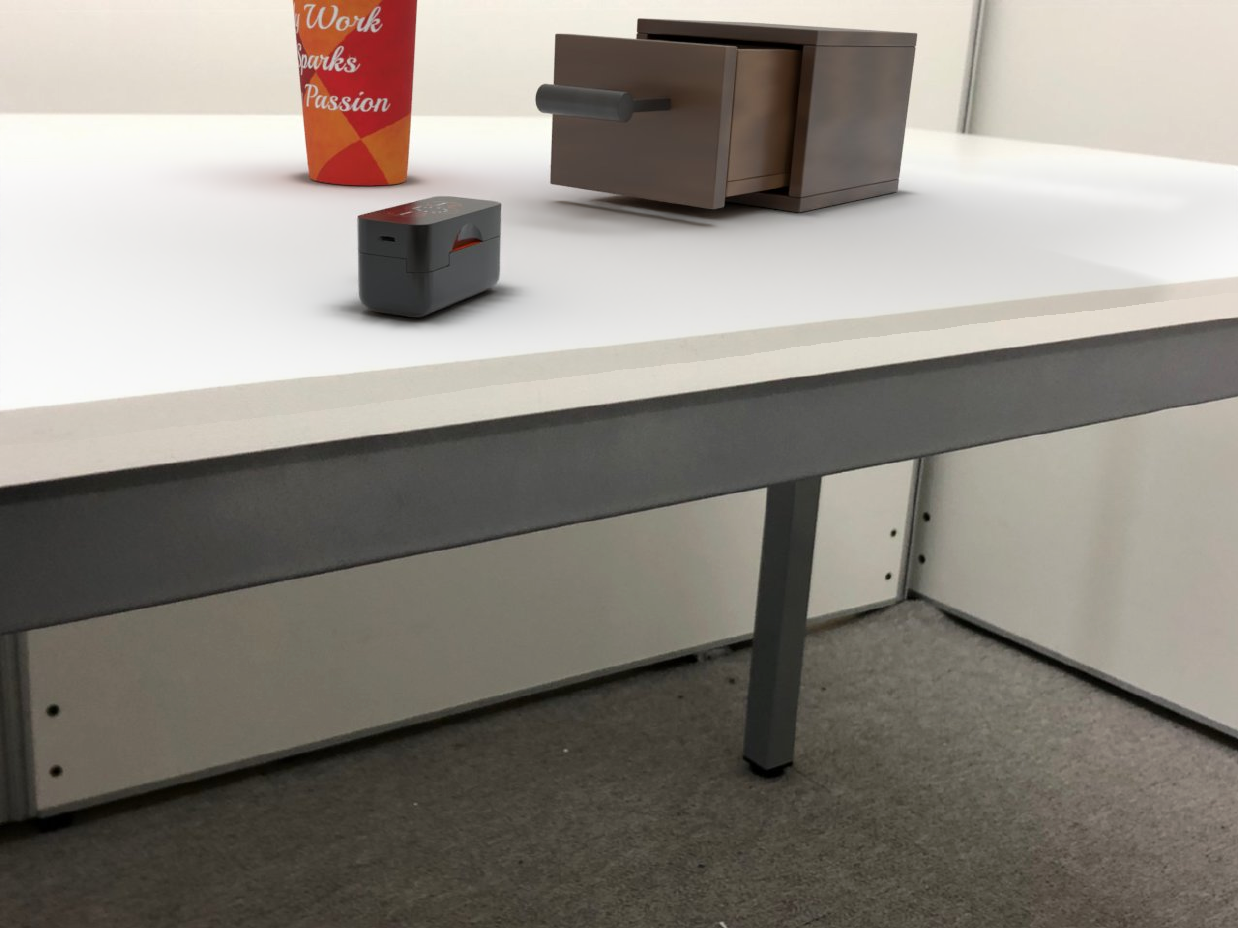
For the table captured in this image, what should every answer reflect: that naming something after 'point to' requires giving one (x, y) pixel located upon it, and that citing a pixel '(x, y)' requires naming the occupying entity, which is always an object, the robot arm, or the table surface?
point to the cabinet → (827, 106)
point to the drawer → (671, 117)
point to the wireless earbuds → (428, 254)
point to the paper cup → (356, 88)
